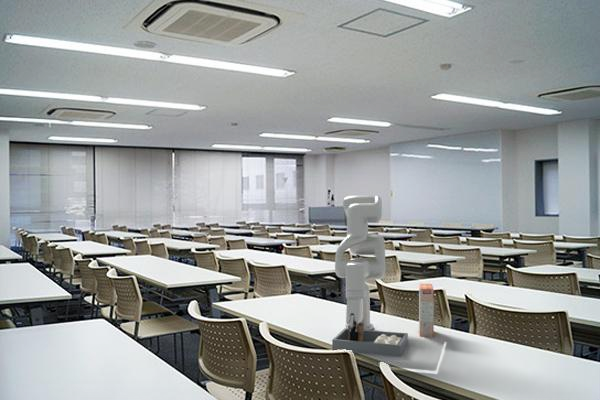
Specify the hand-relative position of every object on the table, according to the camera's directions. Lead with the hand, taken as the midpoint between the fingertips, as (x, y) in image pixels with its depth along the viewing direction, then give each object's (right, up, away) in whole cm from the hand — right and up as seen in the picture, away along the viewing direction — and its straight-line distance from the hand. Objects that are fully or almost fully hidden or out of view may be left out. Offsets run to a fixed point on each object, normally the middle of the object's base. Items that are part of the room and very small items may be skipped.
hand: (355, 339), depth 206 cm
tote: (+6, -3, -2) cm, 7 cm away
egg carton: (+12, -2, -4) cm, 13 cm away
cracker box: (+32, -3, +19) cm, 38 cm away
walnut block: (0, -1, 0) cm, 1 cm away
